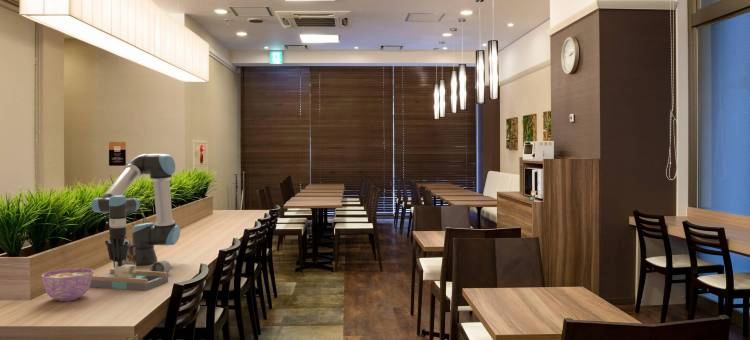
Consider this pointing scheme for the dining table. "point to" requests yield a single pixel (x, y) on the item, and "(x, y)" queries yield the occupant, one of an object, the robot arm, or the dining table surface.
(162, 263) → the ceramic mug
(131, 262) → the coffee box
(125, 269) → the maple block
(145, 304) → the dining table surface
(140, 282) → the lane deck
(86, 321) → the dining table surface
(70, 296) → the bowl of food
